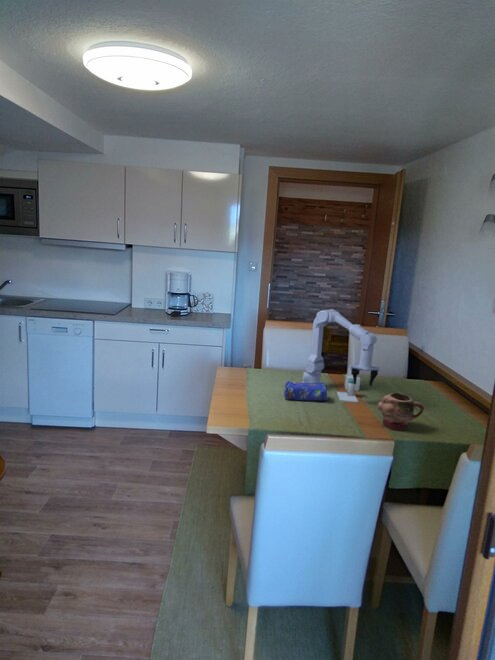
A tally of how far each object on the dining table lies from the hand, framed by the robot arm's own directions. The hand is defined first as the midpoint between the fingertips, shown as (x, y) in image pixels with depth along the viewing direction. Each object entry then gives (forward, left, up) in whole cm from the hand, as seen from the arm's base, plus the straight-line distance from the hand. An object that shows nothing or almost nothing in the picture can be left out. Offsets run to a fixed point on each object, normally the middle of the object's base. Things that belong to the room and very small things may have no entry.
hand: (362, 384), depth 216 cm
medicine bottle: (0, +24, -11) cm, 26 cm away
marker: (-3, +11, -10) cm, 15 cm away
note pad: (-5, +9, -10) cm, 14 cm away
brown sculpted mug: (+12, -24, -11) cm, 29 cm away
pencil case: (-28, 0, -11) cm, 30 cm away
